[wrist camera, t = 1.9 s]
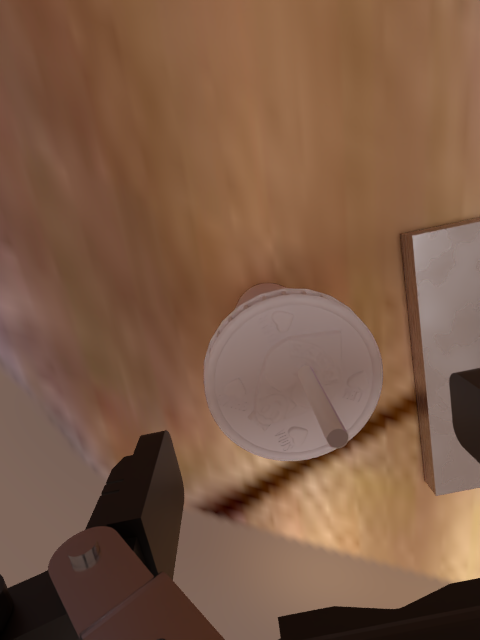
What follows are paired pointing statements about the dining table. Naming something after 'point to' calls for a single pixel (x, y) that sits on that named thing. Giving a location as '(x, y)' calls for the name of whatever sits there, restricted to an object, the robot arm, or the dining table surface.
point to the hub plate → (443, 341)
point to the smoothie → (291, 373)
